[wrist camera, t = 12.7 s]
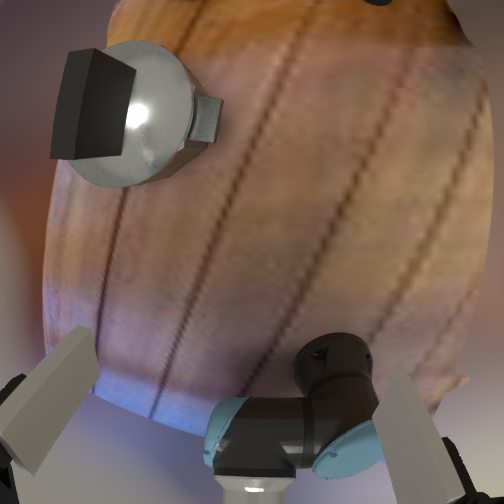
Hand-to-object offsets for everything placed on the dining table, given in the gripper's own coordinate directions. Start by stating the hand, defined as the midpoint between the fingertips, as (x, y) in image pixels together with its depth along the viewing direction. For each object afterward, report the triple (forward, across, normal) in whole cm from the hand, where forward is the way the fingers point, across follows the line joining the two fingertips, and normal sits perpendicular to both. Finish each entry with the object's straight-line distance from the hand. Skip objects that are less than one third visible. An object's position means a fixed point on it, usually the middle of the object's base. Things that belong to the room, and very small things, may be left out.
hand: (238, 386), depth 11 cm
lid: (+23, +18, -13) cm, 32 cm away
